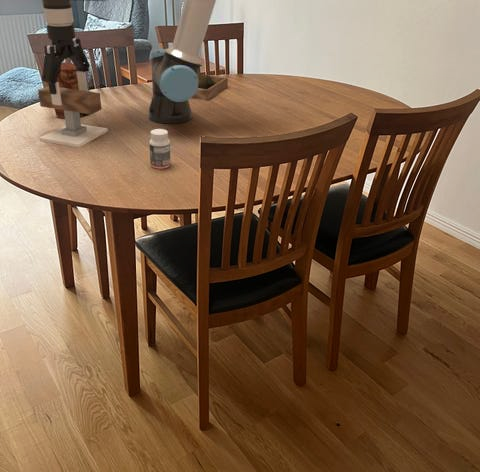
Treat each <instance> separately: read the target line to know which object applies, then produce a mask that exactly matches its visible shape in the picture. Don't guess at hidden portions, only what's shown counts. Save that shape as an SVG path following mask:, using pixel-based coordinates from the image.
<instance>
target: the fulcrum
mask: <svg viewBox="0 0 480 472" xmlns="http://www.w3.org/2000/svg"><path fill="white" fill-rule="evenodd" d="M64 115H65V119H64V121H65V122H64V123H65V124H64V125H62V126H61V127H58V128H56V129H54V130H52V131H50V132H48V133H46V134H44V135H42V136H40V137H39V141H40V142H45V143H51V144H57V145H62V146H69V147H73V148H77V149H80V148H81V147H83V146H84V145H87V144H88V143H90V142H92V141H94V140H95V139H97V138H98V137H100V136H102V135H104V134H106V133H107V132H108V131H109V130H108V127H102V126H101V127H100V126H97V125H95V126H94V125H91V124H90V125H88V124H83V123H82V122H81V117H80V114H79V112H73V111H67V110H64Z"/></svg>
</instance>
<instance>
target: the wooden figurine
mask: <svg viewBox="0 0 480 472" xmlns="http://www.w3.org/2000/svg"><path fill="white" fill-rule="evenodd" d="M77 71H79V70H78V69H77V68H76V66H75V65H74V64H73V62H69V61H63V62H62V64H61V67H60V70H59V74H58V77H57V80H56V82H58V83H59V87H61V88H68V89H75V90H79V86H78V79H77ZM52 78H53V77H52ZM87 88H88V89H89V87H88V86H87ZM53 110H54V112H55V115H56V118H59V119H63V120H65V115H64V110H60V109H54V108H53ZM79 114H80V118H82V117H84V116H86V115H89V114H86V113H79Z"/></svg>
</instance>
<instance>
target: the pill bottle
mask: <svg viewBox="0 0 480 472" xmlns="http://www.w3.org/2000/svg"><path fill="white" fill-rule="evenodd" d="M150 137H151V138H150V140H149V142H148V143H149V159H150V166H151V167H152V168H153V169H162V170H163V169H167V168H169V167H170V166H171V165H172V159H171V158H172V157H171V140H170V139H169V138H168V137H169V133H168V130H166V129H164V128H155V129H152V130H150Z"/></svg>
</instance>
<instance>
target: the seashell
mask: <svg viewBox="0 0 480 472" xmlns="http://www.w3.org/2000/svg"><path fill="white" fill-rule="evenodd" d="M208 75H209V74H207V73H206V74H205V73H199V72H198V76H197V77H198V88H200V89H209V88H210V87H212V86H213V85H215V82H214V81H213V80H212V79H211V78H210V77H209V76H210V75H209V76H208Z"/></svg>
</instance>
